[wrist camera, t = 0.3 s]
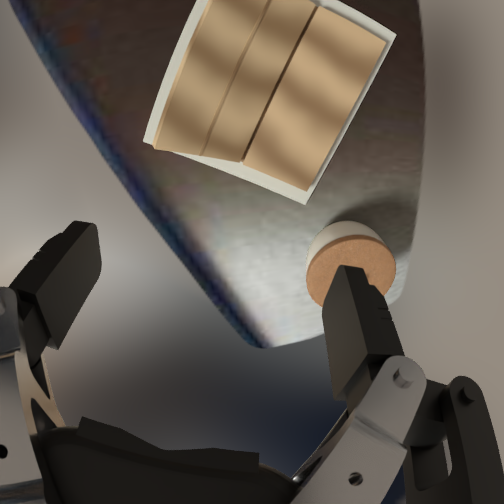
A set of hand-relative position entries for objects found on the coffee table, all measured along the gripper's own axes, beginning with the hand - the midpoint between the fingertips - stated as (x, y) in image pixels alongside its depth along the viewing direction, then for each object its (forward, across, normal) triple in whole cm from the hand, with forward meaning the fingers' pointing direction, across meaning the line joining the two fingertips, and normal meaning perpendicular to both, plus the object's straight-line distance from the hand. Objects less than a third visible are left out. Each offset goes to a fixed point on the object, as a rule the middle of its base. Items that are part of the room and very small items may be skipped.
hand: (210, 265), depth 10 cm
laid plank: (+27, -6, -3) cm, 28 cm away
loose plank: (+24, +3, -6) cm, 25 cm away
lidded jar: (+27, -14, +14) cm, 34 cm away
